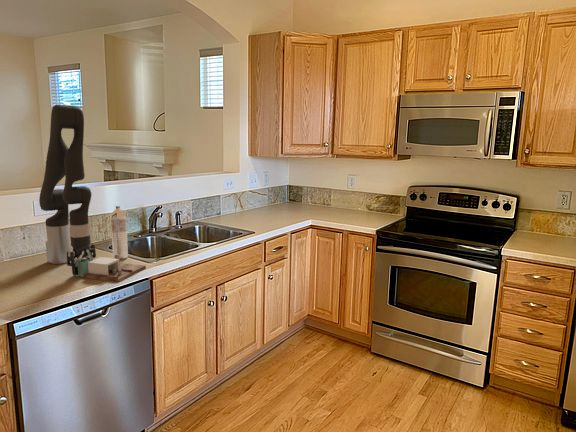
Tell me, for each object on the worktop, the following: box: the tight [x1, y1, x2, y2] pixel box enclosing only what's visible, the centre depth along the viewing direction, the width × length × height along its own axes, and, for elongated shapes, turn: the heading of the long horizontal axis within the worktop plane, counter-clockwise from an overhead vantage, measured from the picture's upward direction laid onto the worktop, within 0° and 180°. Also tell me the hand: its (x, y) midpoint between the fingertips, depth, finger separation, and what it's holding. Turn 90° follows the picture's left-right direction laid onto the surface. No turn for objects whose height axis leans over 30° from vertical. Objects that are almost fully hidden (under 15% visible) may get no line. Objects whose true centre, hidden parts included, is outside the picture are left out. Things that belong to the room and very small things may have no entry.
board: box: [82, 254, 147, 283], centre depth 187 cm, size 17×19×6 cm
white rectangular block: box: [88, 256, 120, 276], centre depth 183 cm, size 9×8×5 cm
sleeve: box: [73, 258, 91, 278], centre depth 185 cm, size 5×5×6 cm
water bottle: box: [110, 205, 129, 260], centre depth 208 cm, size 7×7×25 cm
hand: (82, 271), depth 185 cm, fingers open, 8 cm apart
